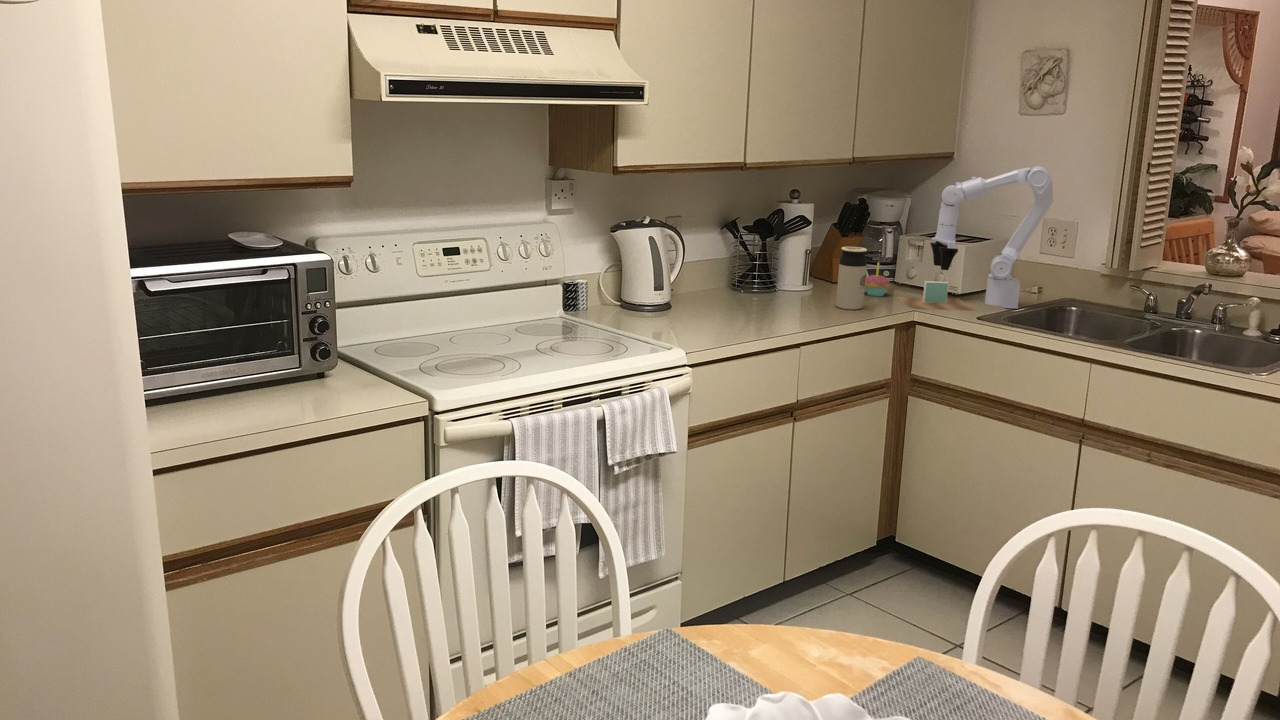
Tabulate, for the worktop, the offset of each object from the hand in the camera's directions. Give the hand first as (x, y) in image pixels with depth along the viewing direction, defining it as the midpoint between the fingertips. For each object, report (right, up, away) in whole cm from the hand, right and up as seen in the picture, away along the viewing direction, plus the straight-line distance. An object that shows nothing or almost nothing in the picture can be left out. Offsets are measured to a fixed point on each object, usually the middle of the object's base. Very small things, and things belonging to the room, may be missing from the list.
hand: (940, 267), depth 319 cm
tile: (-3, -11, -5) cm, 13 cm away
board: (-3, -12, -6) cm, 14 cm away
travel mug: (-31, -13, -12) cm, 36 cm away
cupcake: (-19, -9, +5) cm, 22 cm away
